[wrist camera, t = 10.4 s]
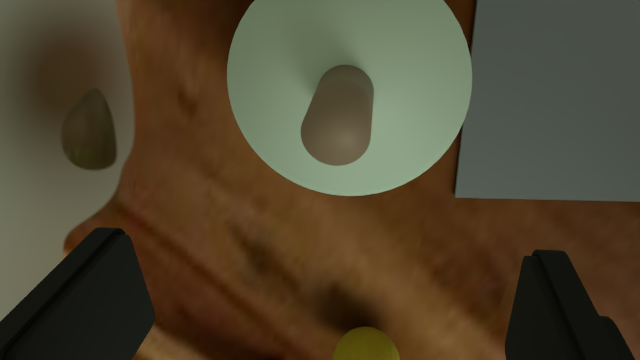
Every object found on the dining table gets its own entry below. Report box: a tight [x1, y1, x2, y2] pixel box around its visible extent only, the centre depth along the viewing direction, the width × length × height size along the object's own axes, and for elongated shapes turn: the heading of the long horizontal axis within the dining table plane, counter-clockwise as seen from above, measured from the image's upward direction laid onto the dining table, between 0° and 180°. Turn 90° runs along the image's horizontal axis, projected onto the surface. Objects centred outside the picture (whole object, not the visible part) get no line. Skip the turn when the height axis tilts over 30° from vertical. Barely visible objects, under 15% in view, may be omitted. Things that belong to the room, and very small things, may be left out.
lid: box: [227, 0, 472, 196], centre depth 20 cm, size 12×12×6 cm
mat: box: [454, 0, 640, 202], centre depth 26 cm, size 14×14×1 cm
